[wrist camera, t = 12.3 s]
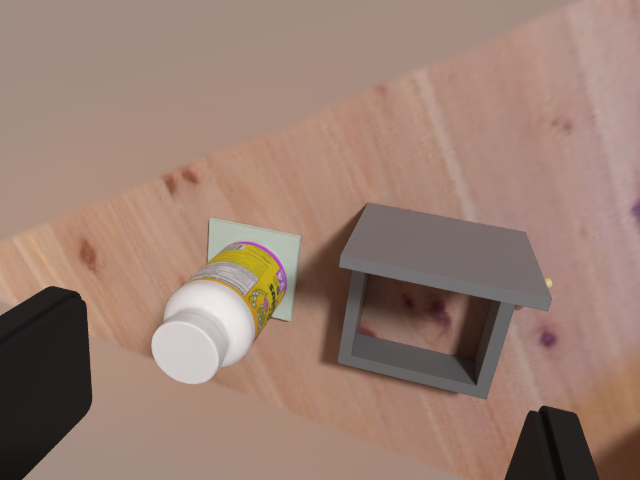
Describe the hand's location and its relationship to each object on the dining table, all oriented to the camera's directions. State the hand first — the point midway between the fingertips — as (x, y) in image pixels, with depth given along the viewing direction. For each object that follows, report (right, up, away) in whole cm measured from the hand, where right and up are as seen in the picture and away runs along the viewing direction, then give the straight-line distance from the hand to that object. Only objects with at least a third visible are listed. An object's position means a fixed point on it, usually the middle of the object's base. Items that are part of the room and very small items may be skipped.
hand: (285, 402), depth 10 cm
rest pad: (-5, +1, +34) cm, 35 cm away
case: (+9, -1, +31) cm, 33 cm away
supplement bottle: (-5, +1, +34) cm, 34 cm away
